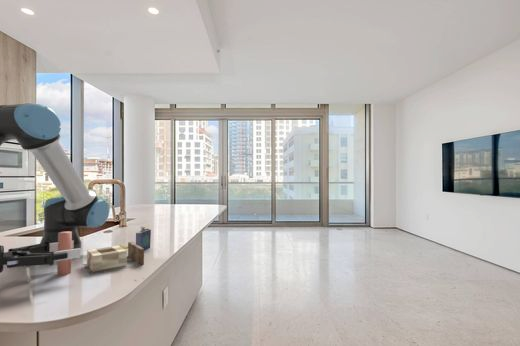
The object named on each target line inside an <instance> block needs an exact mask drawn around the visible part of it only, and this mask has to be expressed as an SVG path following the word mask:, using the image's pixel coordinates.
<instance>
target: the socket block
mask: <svg viewBox="0 0 520 346" xmlns="http://www.w3.org/2000/svg"><path fill="white" fill-rule="evenodd" d="M86 251H87V253H86V264H87V265H88V266H89V268H90V269H91V270H92V271H93V272H95V271H100V270H105V269H110V268H116V267H121V266H126V258H127V256H128V251H127V250H126V249H123V248H122V247H120V245H112V246H106V247H99V248H93V249H87V250H86Z"/></svg>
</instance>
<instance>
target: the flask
mask: <svg viewBox="0 0 520 346" xmlns="http://www.w3.org/2000/svg"><path fill="white" fill-rule="evenodd" d="M151 233H152V229H150V228H146V227H145V226H141V227H140V231H137V232H135V244H137V245H138V246H140V247H142V248H144V251H145V250H148V249H151V236H152V234H151Z"/></svg>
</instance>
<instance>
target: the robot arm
mask: <svg viewBox="0 0 520 346" xmlns="http://www.w3.org/2000/svg"><path fill="white" fill-rule="evenodd" d="M61 125H62V122H61V120H60V118H59V116H58V115H57V114H56V112H55V111H54V110H53V109H52V108H50V107H48V106H47V105H43V104H41V103H40V104H39V103H18V104H1V105H0V146H1V145H3V144H5V143H6V142H9V141H11V140H12V141H13V140H16V141H17V143H18V144H19V145H20V147H21V148H22V150H24V151H27V152H28V151H29V152H31V153H32V155H33V156H34V157H35V159H36V161H37V162H38V163H39V165H40V166H41V168H42V169H43V170H44V172H45V173H46V175H47V176H48V177H49V179H50V180H51V182H52V183H53V185H54V187H56V189H57V190H58V193H60V195H61V196H58V197H50V198H46V200H45V201H44V207H43V209H44V210H43V213H44V214H43V235H42V238H41V240H40V243H36V244H31V245H26V246H21V247H16V248H9V249H8V251H6V252H5V246H4V245H0V274H1V273H2V272H3V271H4V266H5V265H6V268H7V269H12V268H17V267H18V268H19V267H31V266H32V267H33V266H45V265H46V266H53V265H55V264H54V262H58V261H61V260H68V259H71V260H73V259H80V258H81V256H82V255H81V252H82V251H81V249H82V240H81V237H80V235H79V232H78V227H79V228H89V229H90V228H98V227H101V226H102V225H104V224H105V223H106V221H107V220H108V218H109V215H110V209H111V208H110V205H109V202H108V201H107V200H104V199H99V198H98V196H97V195H96V193H95V192H94V191H93V190H89V189H88V188H87V186H86V184H85V182H84V181H83V180H82V178H81V176H80V174H79V173H78V171H77V170H76V168H75V167H74V165H73V163H72V162H71V160H70V158H69V157H68V155H67V153H66V151H65V150H64V149H63V147H62V145H61V144H60V142H59V141H60V139H61V134H60V132H61V131H62V130H61V129H62V128H61ZM66 231H71V232H72V247H71V250H63V251H58V233H59V232H66Z"/></svg>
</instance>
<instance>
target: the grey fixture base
mask: <svg viewBox="0 0 520 346" xmlns="http://www.w3.org/2000/svg"><path fill="white" fill-rule="evenodd" d="M127 245H128V246H127V247H128V248H127V250H128V251H127V258H126V266H121V267H116V268H110V269H105V270H100V271H95V272H93V271H92V270H91V269H90V268H89V266H88V265H87V263H82V266H83V268H85V270H86V271H87V273H88V274H89V275H90V276H93V275H98V274H103V273H108V272H112V271H118V270H123V269H127V268H133V267H137V266H142V265H145V264H144V263H145V250H144V248H142V247H140V246H138V245H137V244H136V242H133V241H129V242H128V244H127Z"/></svg>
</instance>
